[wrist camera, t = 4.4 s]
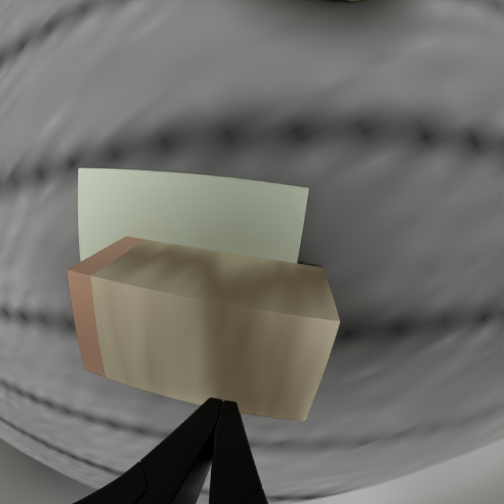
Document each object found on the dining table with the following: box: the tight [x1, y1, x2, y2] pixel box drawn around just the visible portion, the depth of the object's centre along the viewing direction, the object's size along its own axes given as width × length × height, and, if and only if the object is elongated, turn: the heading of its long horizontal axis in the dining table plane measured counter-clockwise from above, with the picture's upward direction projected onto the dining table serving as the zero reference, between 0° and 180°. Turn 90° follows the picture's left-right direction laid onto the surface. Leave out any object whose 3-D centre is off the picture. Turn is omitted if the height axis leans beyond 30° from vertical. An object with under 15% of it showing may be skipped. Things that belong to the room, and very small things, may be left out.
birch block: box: [67, 236, 340, 421], centre depth 13 cm, size 5×5×10 cm
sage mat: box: [78, 168, 309, 263], centre depth 15 cm, size 12×12×1 cm
